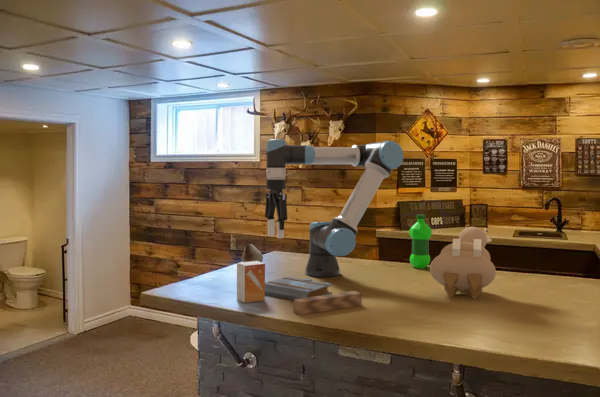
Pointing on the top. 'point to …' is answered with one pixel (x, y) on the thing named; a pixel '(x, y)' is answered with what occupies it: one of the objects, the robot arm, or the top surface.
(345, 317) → the top surface
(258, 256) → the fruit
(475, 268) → the walrus toy
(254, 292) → the small box
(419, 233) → the plastic bottle
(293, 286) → the book
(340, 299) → the rail
